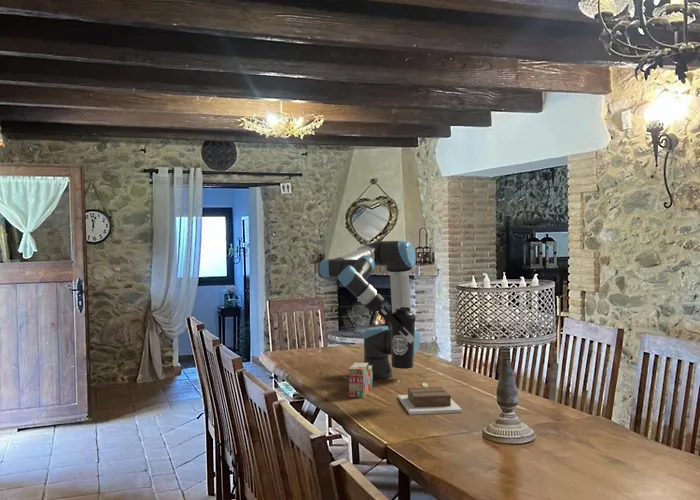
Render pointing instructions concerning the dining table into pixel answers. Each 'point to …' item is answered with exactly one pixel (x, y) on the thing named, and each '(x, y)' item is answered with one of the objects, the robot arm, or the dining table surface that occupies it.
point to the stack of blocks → (360, 379)
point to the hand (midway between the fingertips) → (410, 338)
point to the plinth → (429, 397)
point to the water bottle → (402, 339)
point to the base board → (428, 410)
